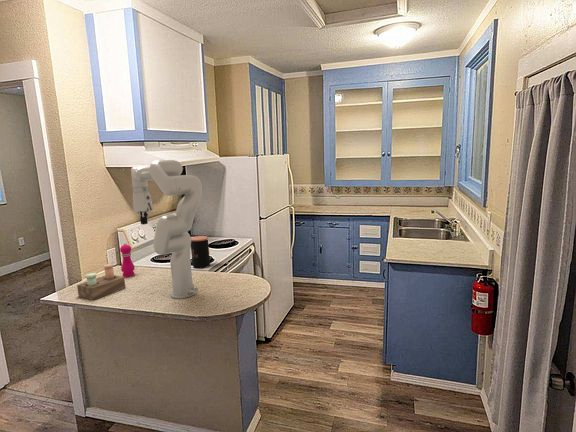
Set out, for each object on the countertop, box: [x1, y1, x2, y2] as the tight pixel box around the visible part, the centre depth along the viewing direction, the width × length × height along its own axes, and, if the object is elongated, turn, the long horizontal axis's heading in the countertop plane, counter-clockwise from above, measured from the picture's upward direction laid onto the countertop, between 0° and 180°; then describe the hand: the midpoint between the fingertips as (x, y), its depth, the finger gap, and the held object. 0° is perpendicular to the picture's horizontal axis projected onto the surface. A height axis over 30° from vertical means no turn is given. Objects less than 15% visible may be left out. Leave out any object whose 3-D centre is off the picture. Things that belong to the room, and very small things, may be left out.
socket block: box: [76, 275, 126, 301], centre depth 189 cm, size 12×18×6 cm, turn 152°
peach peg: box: [102, 263, 114, 280], centre depth 192 cm, size 5×5×10 cm
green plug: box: [84, 272, 97, 286], centre depth 184 cm, size 5×5×10 cm
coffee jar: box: [190, 235, 211, 269], centre depth 226 cm, size 11×11×18 cm
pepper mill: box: [119, 241, 136, 278], centre depth 213 cm, size 7×7×20 cm
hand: (144, 224), depth 198 cm, fingers closed
